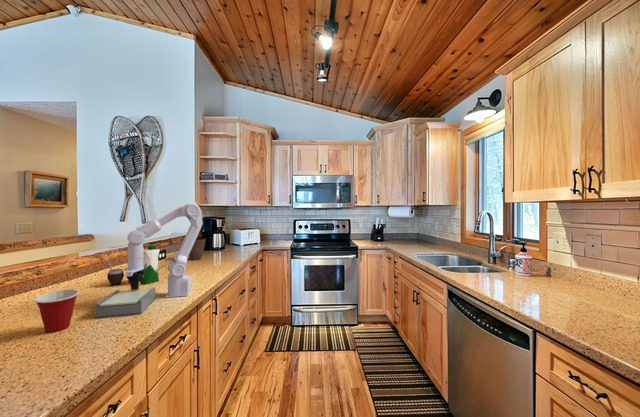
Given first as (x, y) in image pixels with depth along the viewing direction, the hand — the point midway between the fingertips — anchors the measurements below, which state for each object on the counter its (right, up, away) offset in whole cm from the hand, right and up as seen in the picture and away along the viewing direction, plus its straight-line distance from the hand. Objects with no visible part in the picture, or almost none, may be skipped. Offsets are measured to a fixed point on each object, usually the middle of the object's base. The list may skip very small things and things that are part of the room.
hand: (135, 288), depth 116 cm
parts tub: (+2, -6, -7) cm, 10 cm away
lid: (+2, -1, -7) cm, 8 cm away
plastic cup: (-8, -6, -27) cm, 28 cm away
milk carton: (-14, -6, +30) cm, 34 cm away
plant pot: (-19, -6, +94) cm, 96 cm away
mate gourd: (-28, -6, +24) cm, 37 cm away
